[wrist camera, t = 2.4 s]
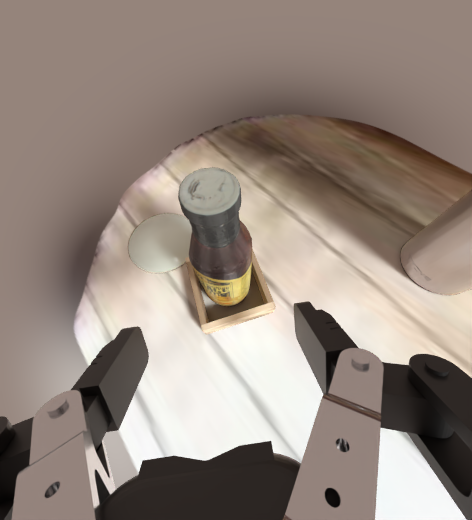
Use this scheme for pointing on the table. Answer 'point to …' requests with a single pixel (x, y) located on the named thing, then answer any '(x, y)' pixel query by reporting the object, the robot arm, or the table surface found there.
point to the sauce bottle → (217, 234)
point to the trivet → (161, 243)
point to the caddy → (236, 318)
